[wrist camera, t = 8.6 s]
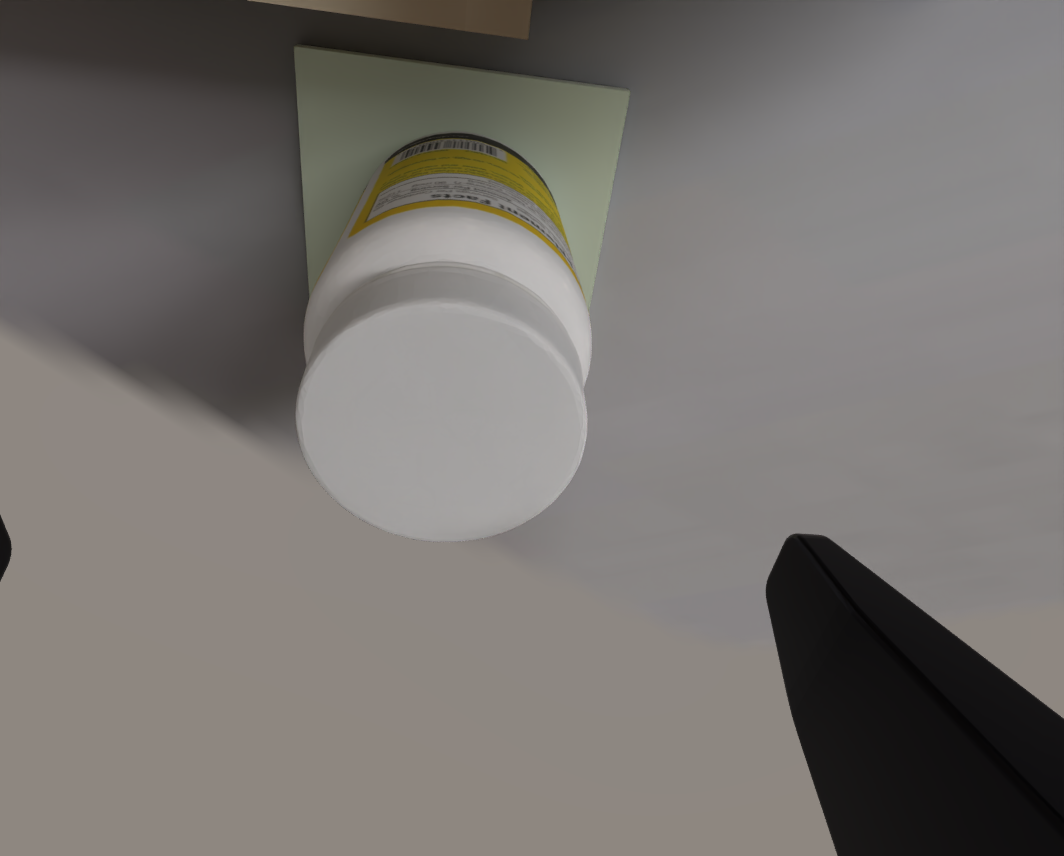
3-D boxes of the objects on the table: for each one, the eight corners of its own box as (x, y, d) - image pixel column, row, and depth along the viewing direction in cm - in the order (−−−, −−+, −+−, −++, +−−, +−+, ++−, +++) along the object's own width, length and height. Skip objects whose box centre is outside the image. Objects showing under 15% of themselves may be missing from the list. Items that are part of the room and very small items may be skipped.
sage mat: (627, 88, 15) (630, 91, 15) (575, 366, 19) (576, 373, 19) (298, 43, 14) (294, 46, 14) (315, 343, 18) (312, 350, 18)
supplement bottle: (464, 358, 18) (448, 608, 11) (317, 234, 16) (186, 444, 9) (602, 234, 16) (685, 436, 9) (457, 75, 14) (426, 186, 7)
